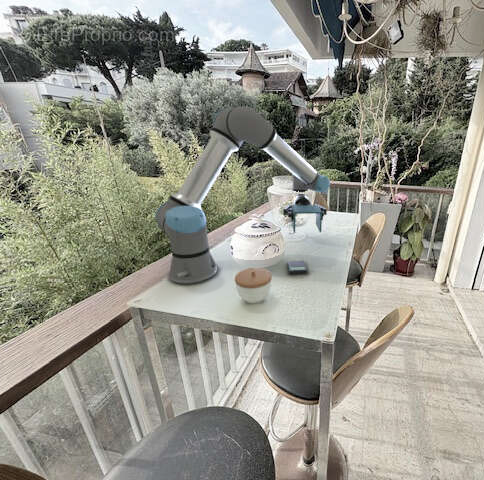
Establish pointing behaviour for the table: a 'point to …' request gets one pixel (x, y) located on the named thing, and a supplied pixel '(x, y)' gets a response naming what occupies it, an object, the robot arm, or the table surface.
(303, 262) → the calculator
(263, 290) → the trinket box
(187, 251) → the robot arm
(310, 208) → the cover
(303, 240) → the table surface
